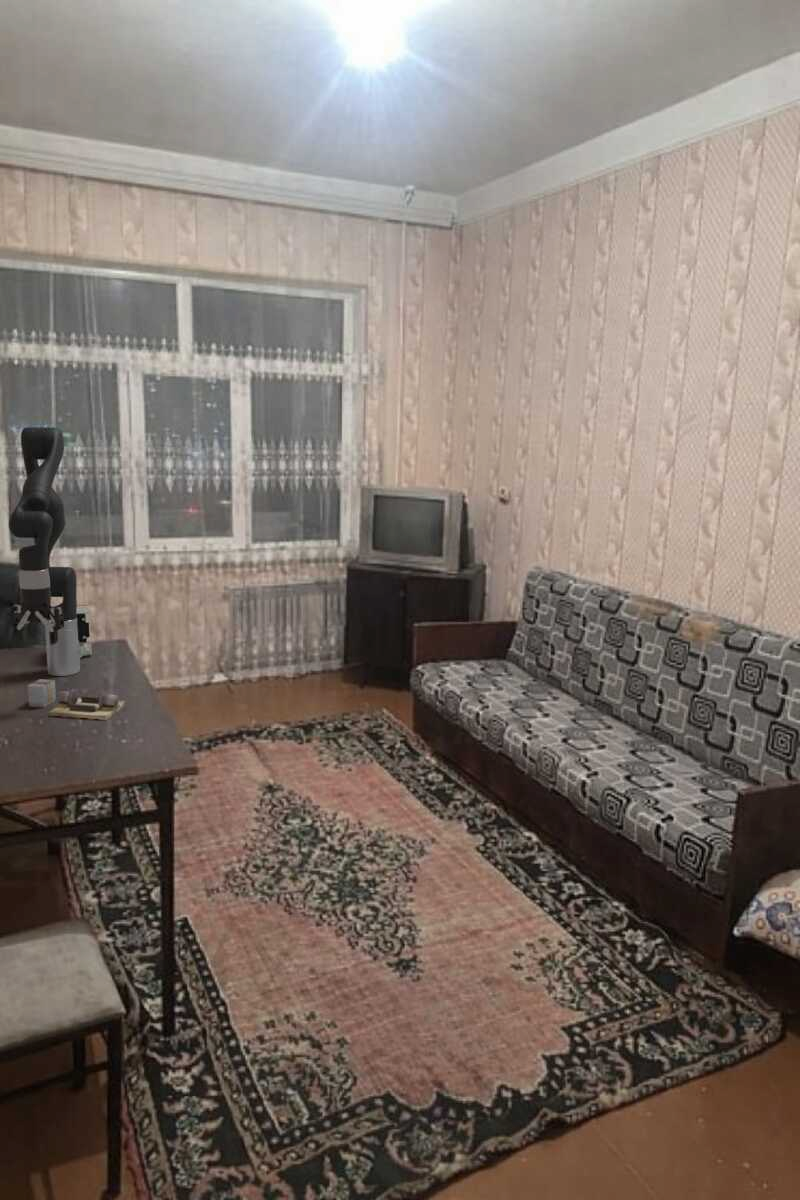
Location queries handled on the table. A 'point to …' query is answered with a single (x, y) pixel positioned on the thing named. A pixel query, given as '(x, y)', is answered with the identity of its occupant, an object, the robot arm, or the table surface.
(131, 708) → the table surface
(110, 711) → the beige flat board
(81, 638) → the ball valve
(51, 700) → the block
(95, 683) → the table surface
